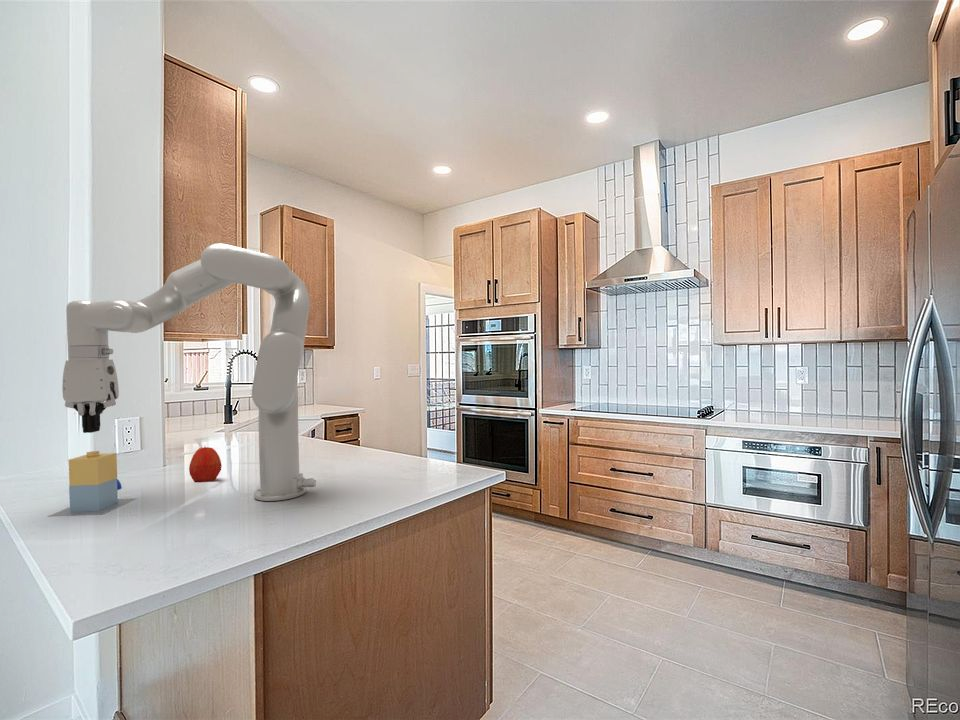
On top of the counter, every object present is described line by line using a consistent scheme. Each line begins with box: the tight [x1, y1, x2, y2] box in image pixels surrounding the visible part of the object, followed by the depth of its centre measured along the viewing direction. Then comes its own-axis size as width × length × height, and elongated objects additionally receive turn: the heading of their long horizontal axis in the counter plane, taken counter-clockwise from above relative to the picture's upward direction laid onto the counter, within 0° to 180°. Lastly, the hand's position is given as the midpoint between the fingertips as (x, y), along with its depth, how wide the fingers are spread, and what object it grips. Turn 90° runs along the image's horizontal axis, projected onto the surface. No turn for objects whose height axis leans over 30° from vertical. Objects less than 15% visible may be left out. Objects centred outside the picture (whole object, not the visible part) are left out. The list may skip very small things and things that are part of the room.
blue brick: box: [68, 477, 119, 512], centre depth 117 cm, size 6×6×7 cm
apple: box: [188, 446, 223, 483], centre depth 141 cm, size 8×8×11 cm
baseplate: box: [47, 497, 138, 518], centre depth 117 cm, size 12×12×2 cm
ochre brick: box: [68, 450, 118, 487], centre depth 117 cm, size 6×6×7 cm
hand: (91, 431), depth 116 cm, fingers closed
